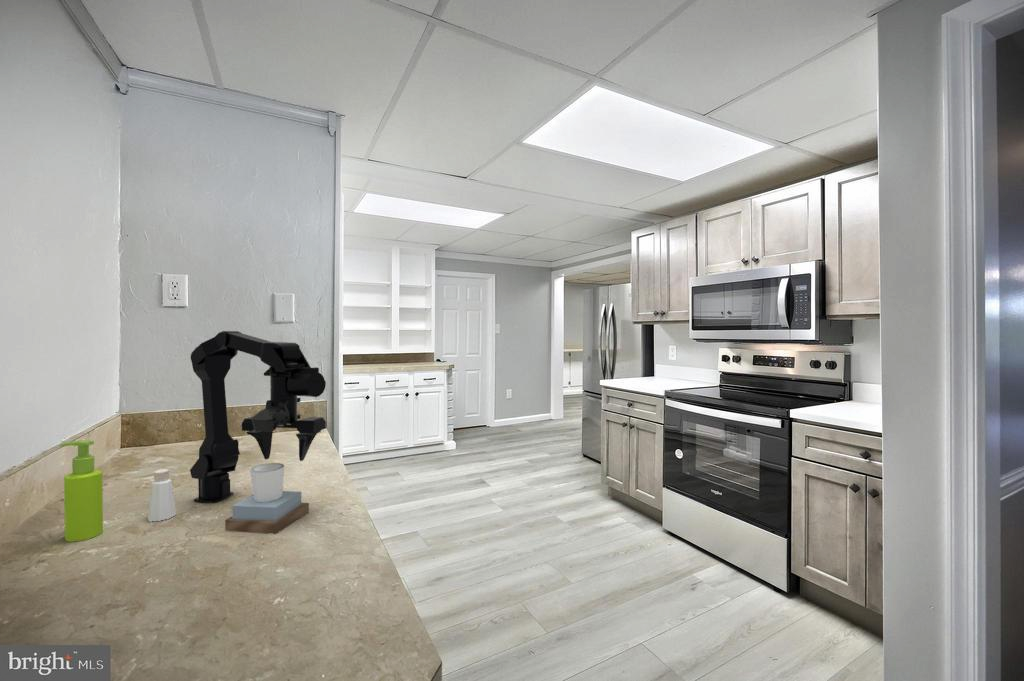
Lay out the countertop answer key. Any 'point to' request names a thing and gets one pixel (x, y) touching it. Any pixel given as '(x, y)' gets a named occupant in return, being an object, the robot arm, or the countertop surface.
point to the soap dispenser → (83, 496)
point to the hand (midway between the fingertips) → (284, 459)
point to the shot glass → (267, 482)
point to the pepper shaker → (161, 497)
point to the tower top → (266, 507)
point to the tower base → (267, 522)
